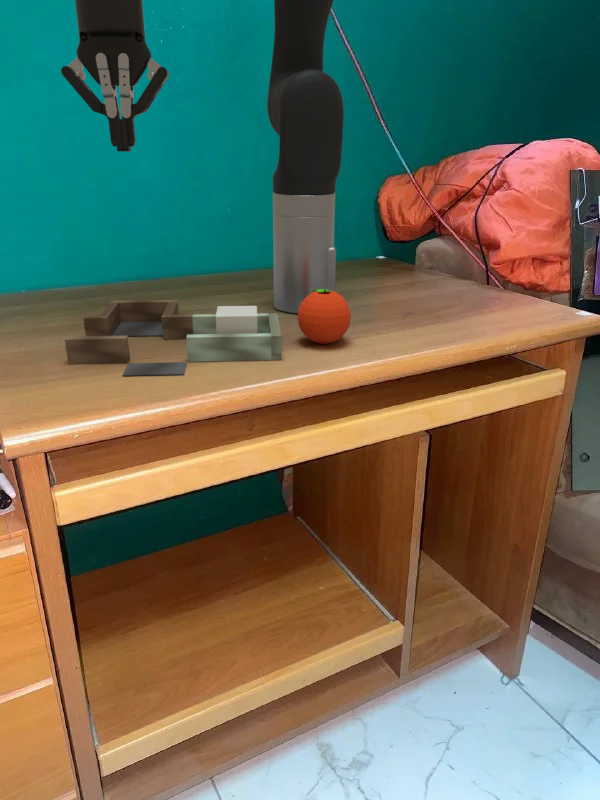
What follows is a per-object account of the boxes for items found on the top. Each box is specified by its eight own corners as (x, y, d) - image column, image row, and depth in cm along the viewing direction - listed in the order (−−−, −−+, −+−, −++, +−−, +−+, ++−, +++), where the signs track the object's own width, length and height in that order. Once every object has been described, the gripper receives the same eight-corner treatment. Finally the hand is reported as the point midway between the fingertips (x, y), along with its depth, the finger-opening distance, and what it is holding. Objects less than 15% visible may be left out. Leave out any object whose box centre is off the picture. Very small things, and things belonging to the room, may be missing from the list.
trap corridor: (274, 318, 93) (274, 298, 92) (283, 373, 72) (283, 348, 71) (101, 321, 91) (98, 300, 90) (57, 377, 70) (53, 352, 69)
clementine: (286, 335, 86) (286, 283, 83) (333, 330, 88) (334, 279, 85) (309, 353, 79) (310, 297, 76) (359, 347, 81) (361, 292, 78)
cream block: (257, 343, 83) (256, 305, 81) (257, 355, 78) (257, 316, 76) (219, 343, 83) (217, 306, 81) (217, 355, 78) (215, 316, 76)
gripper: (168, -3, 76) (179, 150, 83) (56, -6, 75) (76, 150, 82) (163, -17, 70) (175, 152, 76) (39, -20, 68) (62, 152, 75)
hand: (124, 151), depth 79 cm, fingers closed
